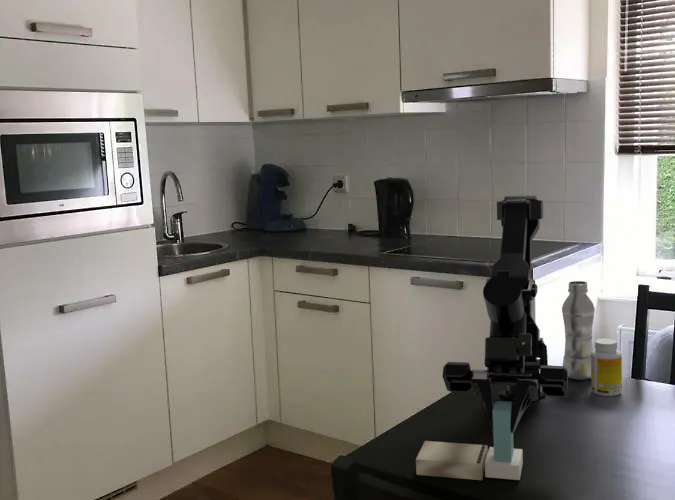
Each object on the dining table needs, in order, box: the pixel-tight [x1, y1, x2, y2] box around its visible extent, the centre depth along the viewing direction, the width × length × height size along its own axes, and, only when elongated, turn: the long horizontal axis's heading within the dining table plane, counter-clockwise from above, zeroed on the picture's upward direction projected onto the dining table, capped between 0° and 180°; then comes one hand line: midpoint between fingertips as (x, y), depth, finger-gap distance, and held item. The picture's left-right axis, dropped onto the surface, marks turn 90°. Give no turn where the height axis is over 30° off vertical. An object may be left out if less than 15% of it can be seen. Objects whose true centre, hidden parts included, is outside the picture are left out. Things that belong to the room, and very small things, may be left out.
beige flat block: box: [415, 440, 489, 481], centre depth 116 cm, size 10×7×3 cm
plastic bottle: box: [561, 280, 596, 381], centre depth 151 cm, size 6×7×20 cm
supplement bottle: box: [590, 338, 623, 397], centre depth 143 cm, size 6×6×10 cm
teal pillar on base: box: [484, 400, 524, 481], centre depth 113 cm, size 5×6×10 cm
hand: (502, 431), depth 111 cm, fingers closed on teal pillar on base, 2 cm apart
